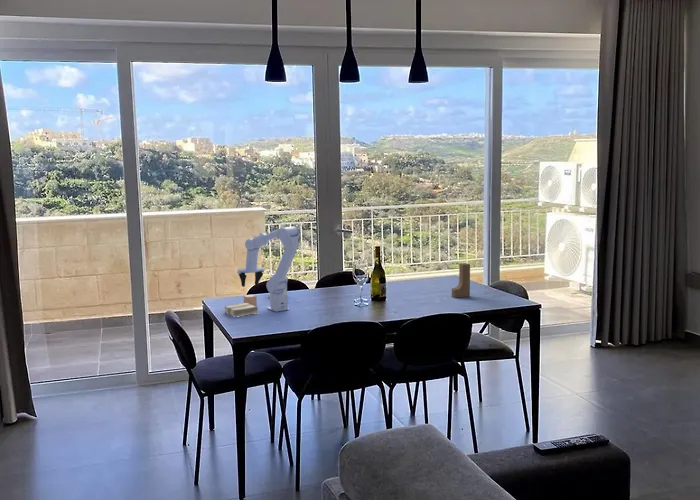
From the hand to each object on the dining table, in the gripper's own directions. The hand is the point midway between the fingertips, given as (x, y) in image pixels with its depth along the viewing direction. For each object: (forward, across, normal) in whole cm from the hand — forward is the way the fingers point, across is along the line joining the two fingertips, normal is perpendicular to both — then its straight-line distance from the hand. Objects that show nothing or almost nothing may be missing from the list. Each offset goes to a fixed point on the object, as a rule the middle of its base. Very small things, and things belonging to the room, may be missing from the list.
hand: (249, 285), depth 355 cm
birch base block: (+9, +12, +16) cm, 22 cm away
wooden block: (-3, -100, +55) cm, 114 cm away
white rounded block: (+10, -23, -9) cm, 27 cm away
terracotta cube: (+10, 0, +2) cm, 10 cm away
